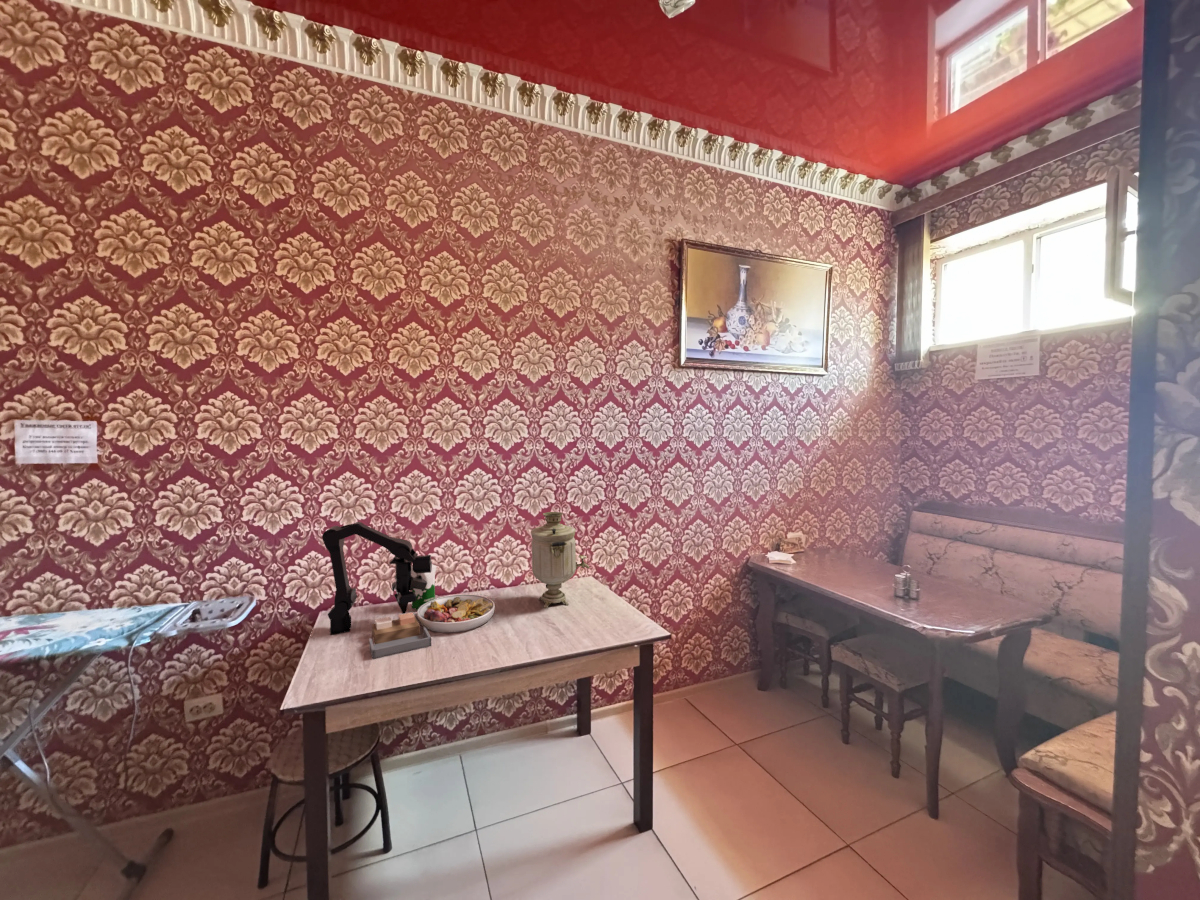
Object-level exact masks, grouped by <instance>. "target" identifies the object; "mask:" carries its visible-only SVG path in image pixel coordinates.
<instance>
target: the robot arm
mask: <svg viewBox="0 0 1200 900" xmlns="http://www.w3.org/2000/svg"><path fill="white" fill-rule="evenodd" d="M355 535H357V536H359V537H362V538H364V539H365V540H367V541H370V542H372V543H375V544H376V545H378V546H380V547H383V548H384V549H386V550H387V551H388V552H389V553H390V554H391V555H393V556H394V557H393V558H392V559H391V560H390V561H389V564H390V565H391V564H392V565H395V566H394V567H395V575H394V580H395V581H394V582H392V584H391V590H392V592H396V593H394V594H393V595H394V598H395V600H396V602H397V604H398V607H399V609H400V612H401V614H407V609H408V605H409V603H412V602H414V601H417V596H416V594H415V593H414V592H413V591H412V590H414V588H415V589H420V590H423V591H424V590H425V588H426V585H427V581H426V580H424V579H422V576H421V575H417V576H416V577H414V578H413V577H412V574H411V566H413V571H414V572H416V573H431V571H432V564H433V561H432V555H431V554H426V555H418V553H417V552H416V551H415V549H414V548H413V545H412V543H411V541H410V540H406V539H403V538H399V537H398V538H397V537H392V536H390V535H387V534H386V533H383V532H381V531H379V530H376V529H375V528H373V527H370V526H369V525H367V524H364V523H363V522H362V521H357V522H355V523H354V522H353V523H350V524H345V525H341V526H339V525H334V526H331V527H330V528H328V529H326V530H325V531H324V532H323V534H322V536H321V537H322V538H321V539H322V541H323V544H324V546H325V548H326V550H327V552H328V553H329V556H330V561H331V562H330V563H331V569H332V573H333V578H334V579H333V580H334V583H335V584H334V586H335V595H334V601H333V602H334V604H333V605H334V606H333V607H332V609H331V610H330V611H328V613H327V616H328V619H329V620H330V621H329V623H330V627H329V635H330V636H332V635H333V636H334V635H337V634H342V633H349V632H351V628H352V616H351V614H350V610H351V609H352V607H353V606H354V604H355V603H356V602H357V601H356V600H357V598H358V595H357V588H356V587H352V586H351V585H350V584H349V583H350V582H349V578H348V577H349V575H348V570H347V565H346V560H345V559H346V558H345V553H344V545H345V539H347V538H348V537H351V536H355Z"/></svg>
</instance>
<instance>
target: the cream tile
mask: <svg viewBox="0 0 1200 900" xmlns="http://www.w3.org/2000/svg"><path fill="white" fill-rule="evenodd" d="M374 621H375V622H374V624H375V625H376V628H377V630H379V629H384V628H389V627H392V619H391V616H386V617H381V618H376V619H375V620H374Z"/></svg>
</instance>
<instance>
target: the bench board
mask: <svg viewBox="0 0 1200 900" xmlns="http://www.w3.org/2000/svg"><path fill="white" fill-rule="evenodd" d="M391 621H392V627H389V628H384V629H379V630H377V628H376V625H375V623H372V624H371V634H372V638H373V639H372V640H373V644H374V645H375V644H379V643H384V642H389V641H394V640H398V639H403V638H408V637H412V636H417V635H421V626H420V625H421V624H420V622H419V621H418V619H417V617H415V622H414V623H409V624H404V625H400V622H399V620H398V619H397V618H396V619H393V620H392V619H391Z"/></svg>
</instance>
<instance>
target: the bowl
mask: <svg viewBox="0 0 1200 900" xmlns="http://www.w3.org/2000/svg"><path fill="white" fill-rule="evenodd" d="M495 605H496V604H495V602H494V601H493V600H492V599H491V598H490V597H487V596H485V595H479V594H478V595H477V594H473V593H471V594H468V593H467V594H466V593H465V594H464V593H461V594H460V593H459V594H451V595H445V596H441V597H437V598H435V599H434V600H431V601H429V602H427V603H425V604H423V605H422V606H421V607H420V608H419V609H418V610H417V611H416V619H417V621H418V623H419V625H421V626H422V627H423V628H424V627H426V629H427V630H429V631H432V632H437V633H460V632H465V631H469V630H472V629H473V630H474V629H476V628H478V627H480V626H482V625H484V624H485V623H487V622H488V621H490V619H492V617H493V615H494V612H495V608H496V606H495Z"/></svg>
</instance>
